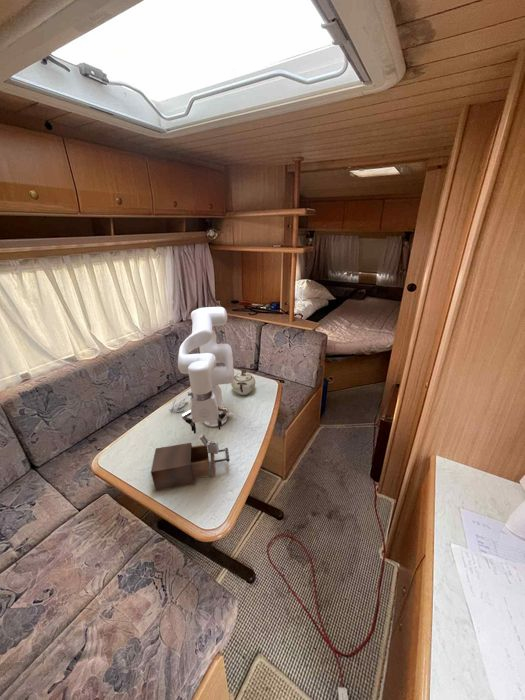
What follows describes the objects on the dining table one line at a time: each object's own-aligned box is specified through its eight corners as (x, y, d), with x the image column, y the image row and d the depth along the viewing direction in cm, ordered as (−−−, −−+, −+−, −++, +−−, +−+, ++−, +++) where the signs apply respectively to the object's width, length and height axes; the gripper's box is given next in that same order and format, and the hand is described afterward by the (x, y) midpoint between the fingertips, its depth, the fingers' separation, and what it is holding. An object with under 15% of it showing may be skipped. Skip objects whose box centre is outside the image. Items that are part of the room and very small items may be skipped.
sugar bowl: (234, 383, 181) (233, 363, 175) (257, 383, 180) (256, 363, 174) (229, 400, 163) (227, 378, 157) (254, 400, 162) (253, 378, 156)
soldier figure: (190, 406, 160) (178, 412, 149) (185, 411, 161) (173, 417, 150) (183, 395, 161) (170, 401, 150) (178, 400, 162) (165, 406, 151)
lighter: (219, 450, 113) (217, 435, 110) (217, 454, 111) (215, 438, 108) (202, 449, 114) (200, 433, 111) (201, 452, 113) (199, 436, 110)
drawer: (228, 453, 123) (226, 439, 119) (231, 473, 112) (229, 458, 109) (183, 461, 119) (180, 446, 116) (181, 483, 109) (178, 467, 106)
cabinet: (194, 460, 121) (191, 442, 117) (193, 483, 110) (190, 464, 106) (159, 466, 118) (155, 448, 114) (155, 490, 107) (150, 472, 103)
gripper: (177, 402, 97) (184, 439, 104) (226, 395, 100) (229, 432, 107) (179, 391, 103) (185, 426, 111) (224, 385, 107) (228, 420, 114)
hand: (207, 429), depth 109 cm, fingers open, 9 cm apart
